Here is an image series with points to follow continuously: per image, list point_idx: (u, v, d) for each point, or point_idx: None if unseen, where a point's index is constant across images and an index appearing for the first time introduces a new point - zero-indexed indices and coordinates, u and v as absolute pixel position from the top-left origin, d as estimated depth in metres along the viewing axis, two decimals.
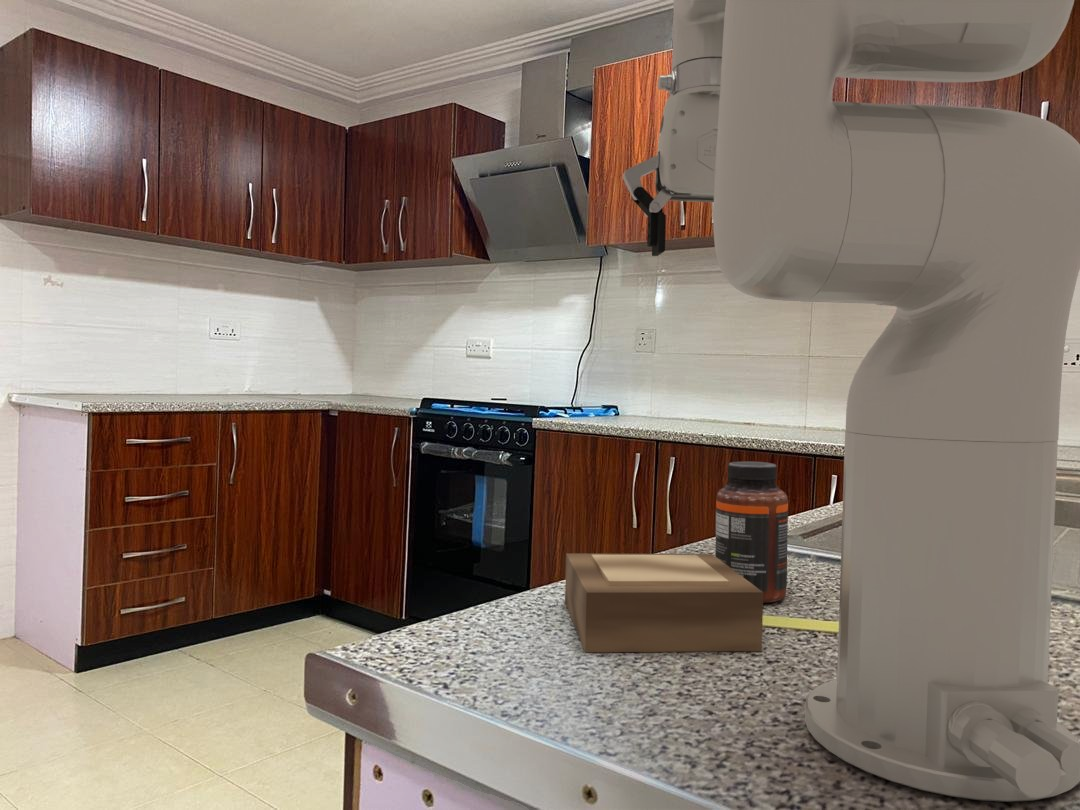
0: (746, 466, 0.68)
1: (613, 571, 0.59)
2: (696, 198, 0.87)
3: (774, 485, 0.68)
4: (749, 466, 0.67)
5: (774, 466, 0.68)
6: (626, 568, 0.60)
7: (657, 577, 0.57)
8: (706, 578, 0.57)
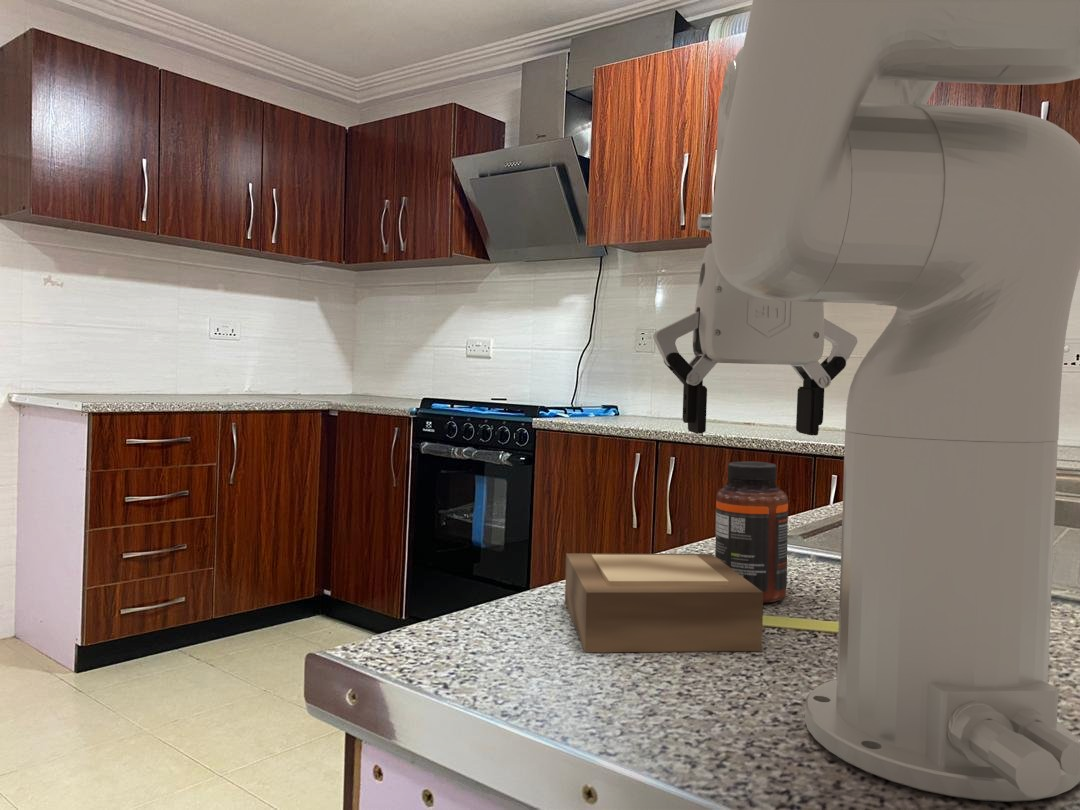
0: (746, 466, 0.68)
1: (613, 571, 0.59)
2: None
3: (774, 485, 0.68)
4: (749, 466, 0.67)
5: (774, 466, 0.68)
6: (626, 568, 0.60)
7: (657, 577, 0.57)
8: (706, 578, 0.57)
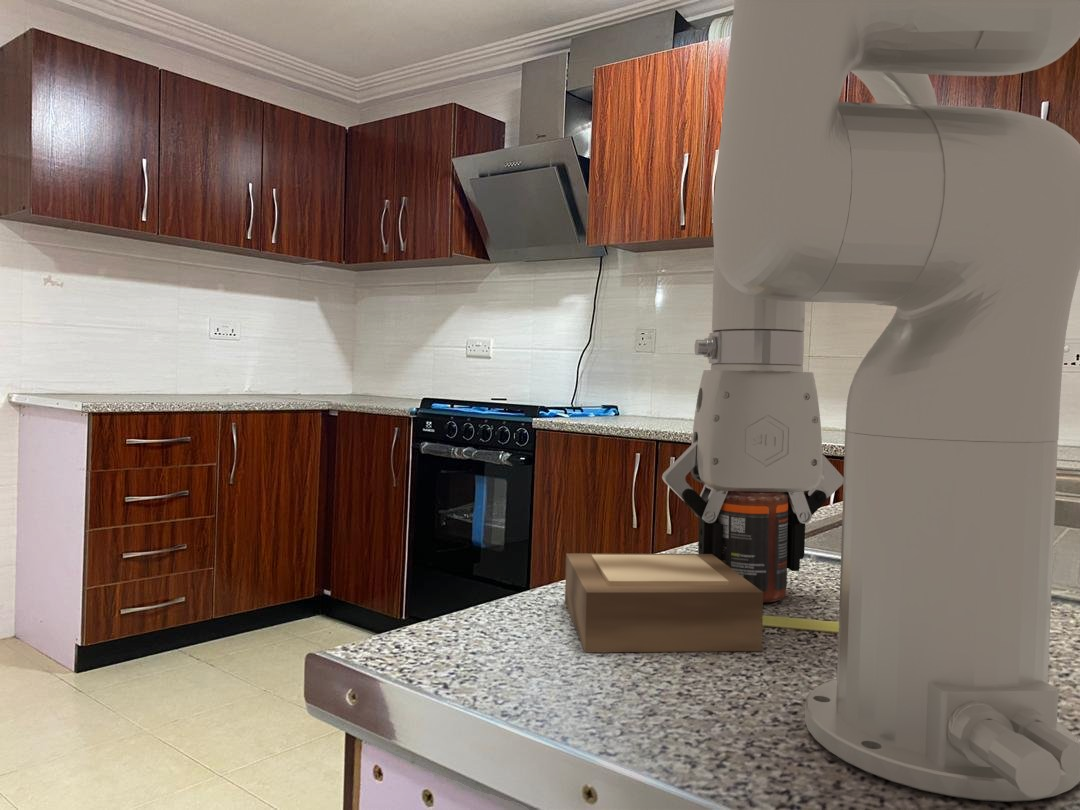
0: None
1: (613, 571, 0.59)
2: None
3: None
4: None
5: None
6: (626, 568, 0.60)
7: (657, 577, 0.57)
8: (706, 578, 0.57)
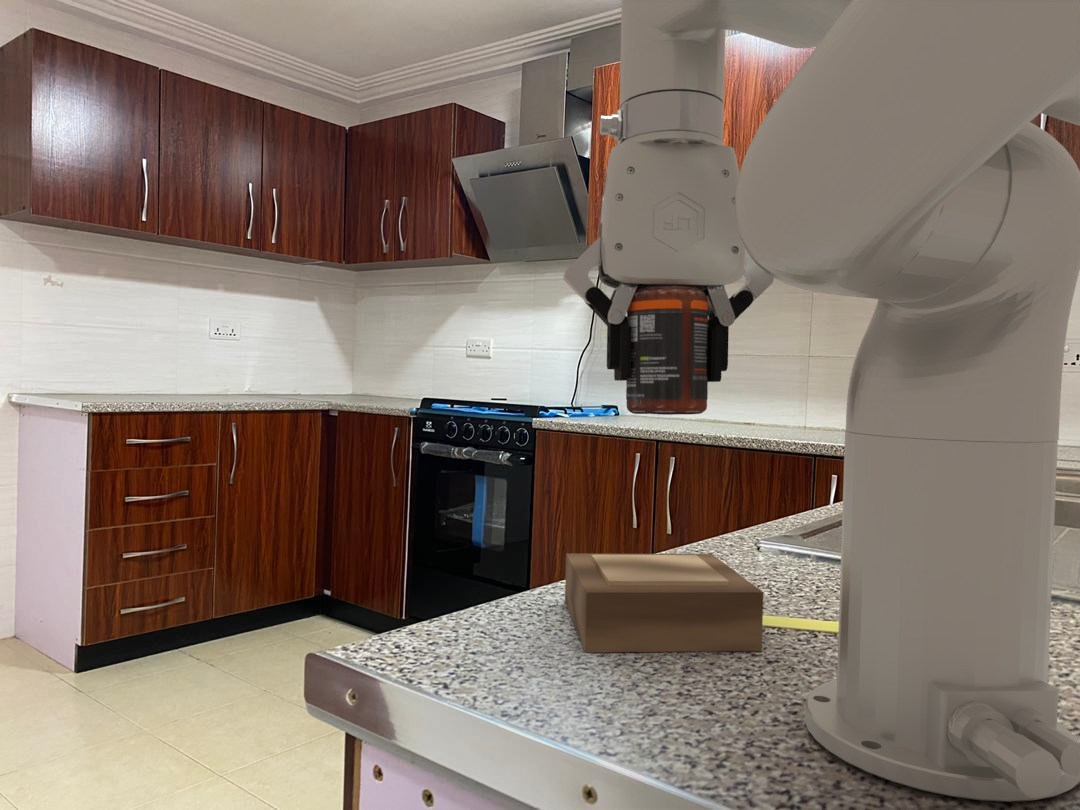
0: None
1: (613, 571, 0.59)
2: None
3: None
4: None
5: None
6: (626, 568, 0.60)
7: (657, 577, 0.57)
8: (706, 578, 0.57)
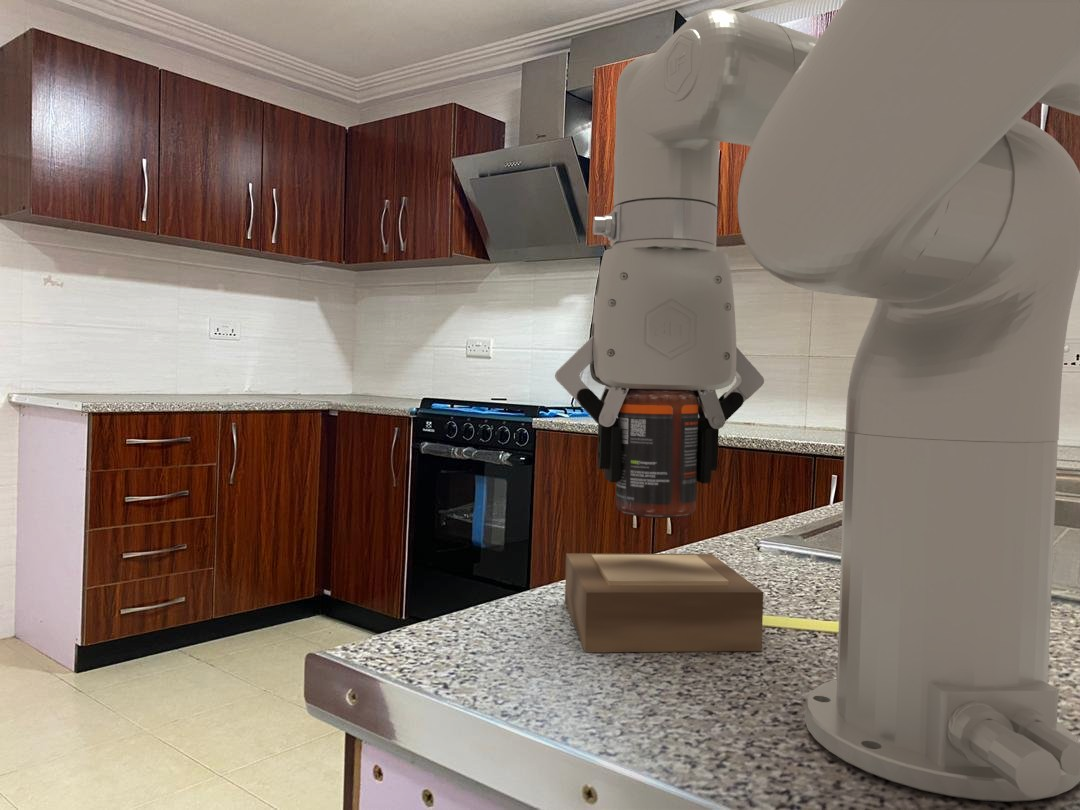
0: None
1: (613, 571, 0.59)
2: None
3: None
4: None
5: None
6: (626, 568, 0.60)
7: (657, 577, 0.57)
8: (706, 578, 0.57)
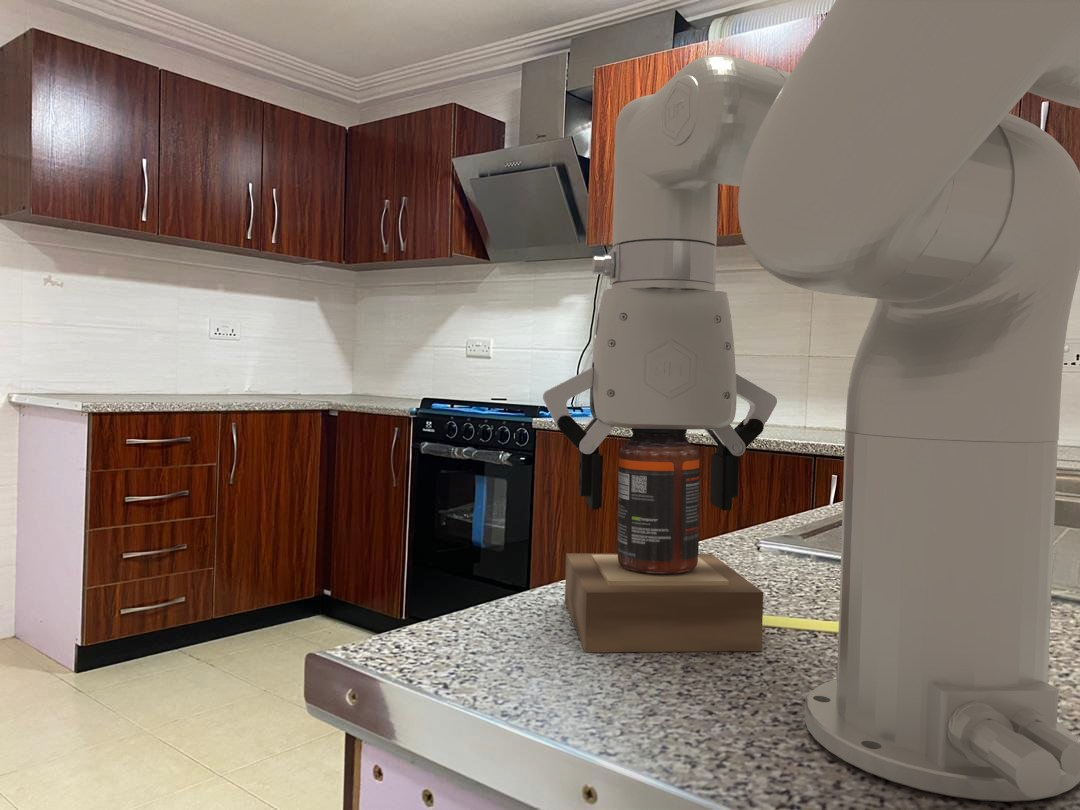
0: None
1: (613, 571, 0.59)
2: None
3: (682, 439, 0.59)
4: None
5: None
6: None
7: (657, 577, 0.57)
8: (706, 578, 0.57)
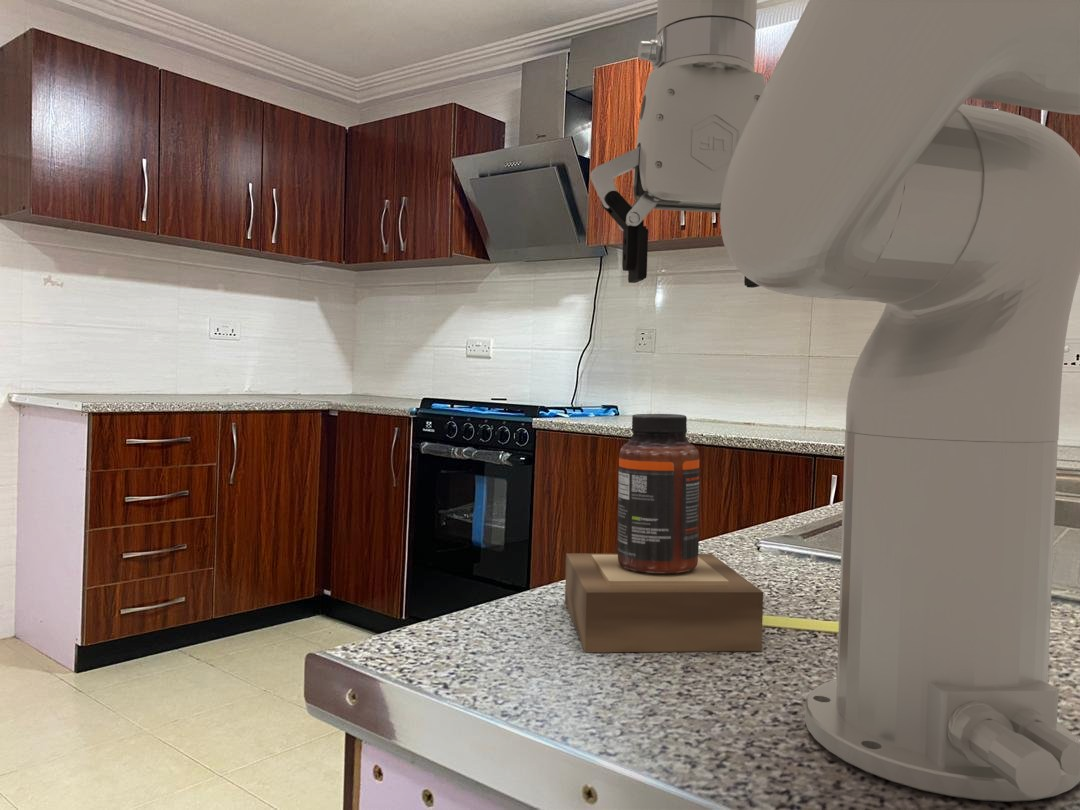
0: (649, 416, 0.59)
1: (613, 571, 0.59)
2: (687, 206, 0.66)
3: (682, 439, 0.59)
4: (653, 416, 0.58)
5: (683, 417, 0.59)
6: None
7: (657, 577, 0.57)
8: (706, 578, 0.57)
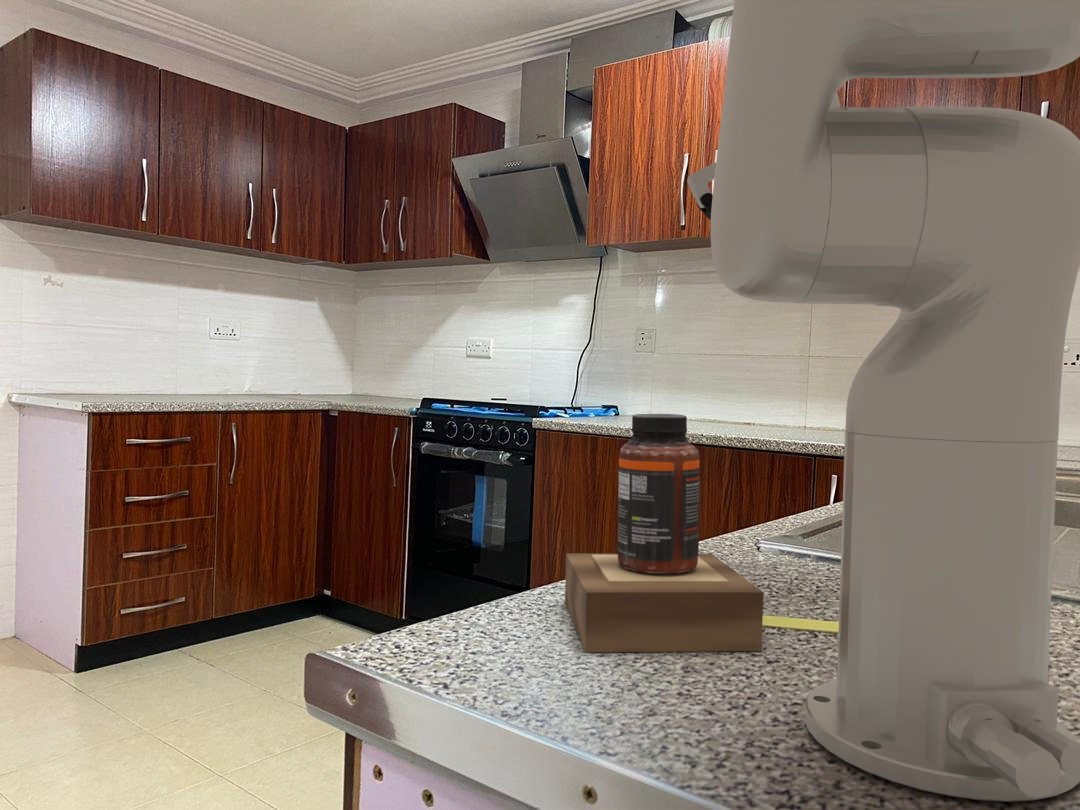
0: (650, 416, 0.59)
1: (613, 571, 0.59)
2: None
3: (682, 439, 0.59)
4: (653, 416, 0.58)
5: (683, 417, 0.59)
6: None
7: (657, 577, 0.57)
8: (706, 578, 0.57)
